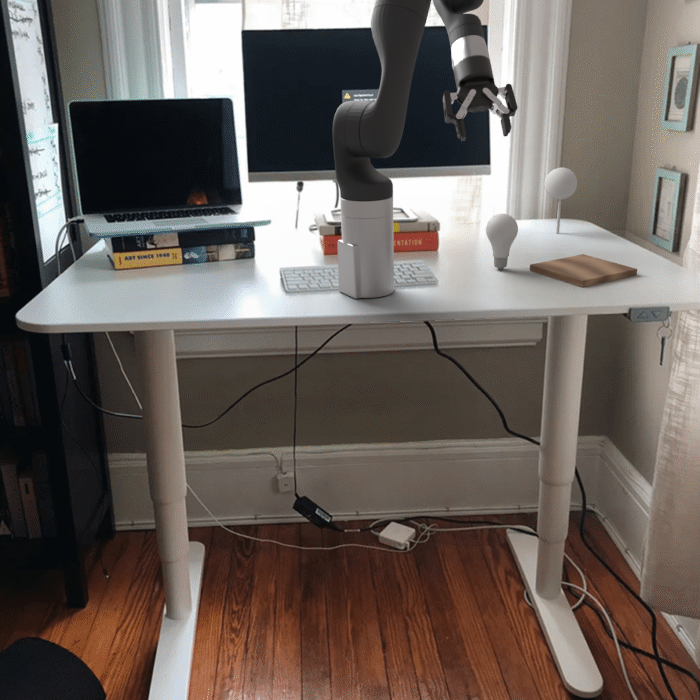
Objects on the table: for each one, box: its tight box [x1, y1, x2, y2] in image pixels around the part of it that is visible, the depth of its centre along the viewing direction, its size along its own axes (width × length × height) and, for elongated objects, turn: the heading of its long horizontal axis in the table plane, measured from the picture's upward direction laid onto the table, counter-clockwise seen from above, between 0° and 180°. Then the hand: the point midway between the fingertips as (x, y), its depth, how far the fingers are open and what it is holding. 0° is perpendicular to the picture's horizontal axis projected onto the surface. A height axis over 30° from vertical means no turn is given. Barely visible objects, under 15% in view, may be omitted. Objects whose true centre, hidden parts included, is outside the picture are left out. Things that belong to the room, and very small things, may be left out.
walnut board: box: [529, 253, 638, 288], centre depth 153 cm, size 14×14×1 cm
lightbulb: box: [485, 213, 519, 271], centre depth 155 cm, size 6×6×11 cm
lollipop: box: [544, 167, 578, 234], centre depth 182 cm, size 7×7×15 cm
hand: (485, 136), depth 157 cm, fingers open, 8 cm apart
